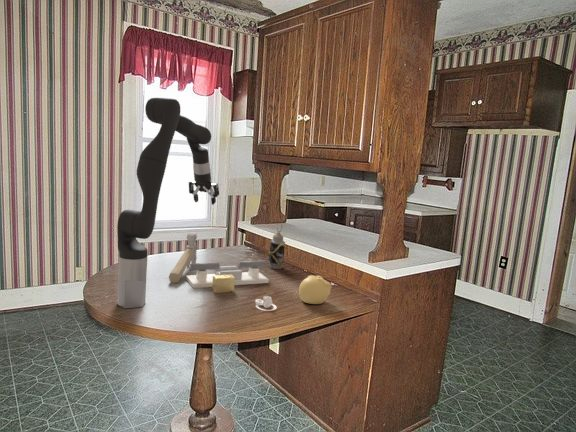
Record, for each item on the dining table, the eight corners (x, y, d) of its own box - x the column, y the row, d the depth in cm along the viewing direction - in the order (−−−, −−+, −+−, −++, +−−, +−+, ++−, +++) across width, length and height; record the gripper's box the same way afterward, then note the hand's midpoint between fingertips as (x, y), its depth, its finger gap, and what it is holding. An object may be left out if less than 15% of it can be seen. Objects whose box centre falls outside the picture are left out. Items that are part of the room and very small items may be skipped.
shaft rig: (268, 282, 183) (270, 264, 182) (193, 288, 167) (194, 267, 166) (257, 274, 194) (259, 257, 192) (185, 278, 177) (186, 259, 176)
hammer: (179, 262, 167) (198, 232, 195) (168, 261, 167) (188, 231, 195) (179, 295, 173) (197, 261, 201) (168, 294, 173) (188, 260, 201)
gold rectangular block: (233, 291, 168) (235, 277, 167) (215, 293, 164) (216, 278, 163) (230, 288, 171) (231, 274, 171) (211, 289, 168) (213, 275, 167)
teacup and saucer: (252, 303, 158) (253, 293, 157) (271, 302, 161) (272, 292, 160) (259, 312, 150) (260, 302, 149) (279, 311, 153) (280, 300, 152)
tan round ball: (333, 303, 165) (336, 278, 163) (312, 309, 157) (315, 282, 155) (313, 294, 173) (316, 270, 172) (292, 299, 165) (295, 273, 164)
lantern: (285, 269, 206) (290, 220, 203) (270, 269, 203) (275, 220, 199) (279, 264, 214) (284, 217, 211) (264, 264, 211) (269, 217, 207)
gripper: (183, 172, 185) (187, 204, 193) (213, 175, 182) (215, 208, 190) (191, 166, 192) (194, 197, 200) (219, 169, 189) (222, 201, 196)
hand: (205, 202), depth 195 cm, fingers open, 8 cm apart
